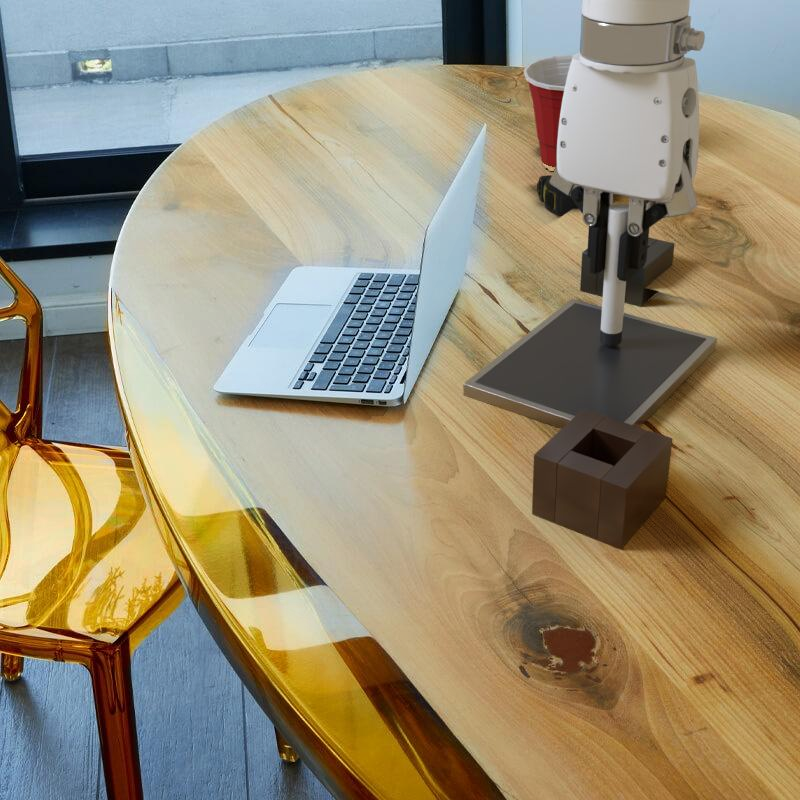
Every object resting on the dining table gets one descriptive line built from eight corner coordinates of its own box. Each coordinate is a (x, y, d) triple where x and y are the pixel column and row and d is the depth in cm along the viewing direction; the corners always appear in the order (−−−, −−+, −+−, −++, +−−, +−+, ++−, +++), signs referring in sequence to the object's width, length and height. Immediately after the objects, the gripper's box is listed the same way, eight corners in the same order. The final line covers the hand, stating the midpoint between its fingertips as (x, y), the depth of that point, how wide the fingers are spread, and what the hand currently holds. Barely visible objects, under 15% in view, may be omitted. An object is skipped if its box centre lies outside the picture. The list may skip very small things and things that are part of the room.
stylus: (625, 339, 91) (636, 206, 85) (615, 348, 90) (625, 213, 84) (605, 333, 92) (615, 201, 86) (595, 342, 91) (604, 209, 85)
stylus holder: (670, 281, 104) (674, 243, 102) (641, 307, 100) (644, 267, 97) (610, 266, 107) (613, 229, 105) (579, 290, 103) (581, 252, 101)
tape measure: (595, 198, 123) (597, 167, 121) (610, 221, 117) (612, 188, 115) (536, 202, 122) (536, 170, 120) (547, 225, 116) (549, 192, 114)
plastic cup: (517, 181, 128) (519, 79, 122) (525, 150, 137) (527, 54, 131) (610, 183, 126) (617, 80, 120) (611, 152, 135) (618, 55, 129)
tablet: (715, 349, 92) (717, 337, 92) (619, 448, 80) (620, 435, 80) (571, 309, 100) (572, 298, 99) (463, 395, 88) (463, 382, 87)
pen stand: (666, 497, 75) (672, 438, 72) (621, 550, 71) (627, 488, 68) (579, 466, 79) (582, 408, 76) (531, 514, 74) (533, 454, 71)
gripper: (758, 41, 76) (726, 276, 86) (562, 17, 85) (554, 235, 94) (715, 66, 71) (687, 313, 81) (512, 38, 80) (508, 266, 89)
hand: (615, 269), depth 88 cm, fingers closed on stylus, 1 cm apart
